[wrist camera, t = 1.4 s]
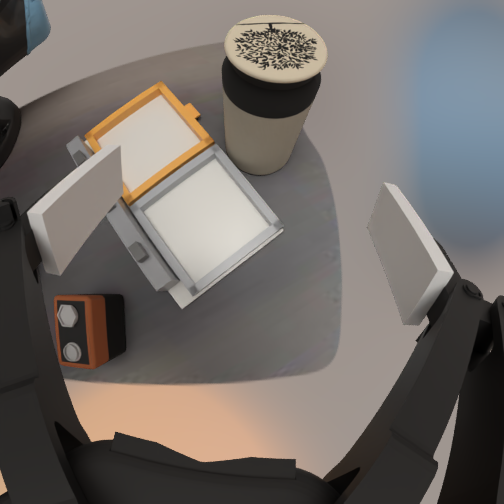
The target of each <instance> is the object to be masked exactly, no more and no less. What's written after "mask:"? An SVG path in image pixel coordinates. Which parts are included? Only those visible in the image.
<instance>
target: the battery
mask: <svg viewBox="0 0 504 504" xmlns="http://www.w3.org/2000/svg"><path fill="white" fill-rule="evenodd" d="M54 314H55V329H56V341H57V350H58V358H59V363H60V364H61V365H63V366H70V367H77V368H85V369H95V368H97V367H99V366H101V365H102V364H104V363H106V362H108V361H109V360H111V359H113V358H115V357H116V356H118V355H120V354H121V353H123V352H125V350H126V341H125V327H124V308H123V297H122V295H120V294H79V295H57V296H55V298H54Z"/></svg>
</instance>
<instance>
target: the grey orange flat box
mask: <svg viewBox="0 0 504 504" xmlns="http://www.w3.org/2000/svg"><path fill="white" fill-rule="evenodd" d="M199 116H200V114H199V113H198V111H197V110H196V109H195V108H194V107H193V106H192V105H191V104H190V103H189V104H187V105H186V106H183V105H182V103H181V102H180V101H179V100H178V99H177V98H176V97H175V96H174V94H173V93H172V92H171V91H170V90H169V89H168V88H167V87H166V86H165V84H164V83H163V82H162V81H160V82H159V83H157V84H155V85H154V86H152V87H151V88H149V89H148V90H146V91H144V92H143V93H141V94H140V95H138V96H137V97H135V98H134V99H132V100H131V101H130V102H128V103H127V104H125V105H124V106H122V107H121V108H120V109H118V110H117V111H116V112H114V113H113V114H111V115H110V116H109V117H107V118H106V119H105V120H103V121H102V122H101V123H100V124H98V125H97V126H96V127H94V128H93V129H92V130H91V131H89V132H88V133H87V134H86V135H84V136H85V137H86V139H87V140H86V141H85V142H84V141H83V140H82V139H81V138H80V137H79V136H76V137H75V138H74V139H73V140H72V141H71V142H69V143H68V144H67V145H66V146H67V148H68V150H69V152H70V154H71V156H72V158H73V160H74V161H75V163H76V165H77V167H79V166H80V165H81V164H83V163H84V162H85V161H86V160H88V159H89V158H90V157H92V156H93V155H94V154H96V153H97V152H98V151H100V150H101V149H102V148H104V147H105V146H106V145H120V146H121V165H122V180H123V192H124V193H123V195H122V196H121V197H120V198H119V199H118V200H117V202H116V203H115V204H114V205H113V207H112V208H111V209H110V210H109V211H108V213H107V214H106V217H107V218H108V220H109V221H110V223H111V225H112V226H113V228H114V229H115V231H116V233H117V234H118V236H119V237H120V239H121V240H122V242H123V243H124V245H125V246H126V248H127V249H128V251H129V252H130V254H131V255H132V257H133V258H134V260H135V261H136V263H137V264H138V266H139V267H140V269H141V270H142V272H143V273H144V274H145V276H146V277H147V279H148V280H149V281H150V283H151V284H152V286H153V287H154V289H155V290H156V291H169V293H170V294H171V295H172V297H173V298H174V299H175V301H176V302H177V303H178V305H179V306H180V307H181V309H184V308H185V307H186V306H187V305H189V304H190V303H191V302H193V301H194V300H195V299H196V298H198V297H199V296H200V295H202V294H203V293H204V292H206V291H207V290H208V289H209V288H211V287H212V286H213V285H215V284H216V283H217V282H218V281H220V280H221V279H222V278H224V277H225V276H226V275H228V274H229V273H230V272H231V271H233V270H234V269H235V268H237V267H238V266H239V265H240V264H242V263H243V262H244V261H246V260H247V259H248V258H250V257H251V256H252V255H253V254H255V253H256V252H257V251H259V250H260V249H261V248H262V247H264V246H265V245H266V244H268V243H269V242H270V241H271V240H273V239H274V238H275V237H277V236H278V235H279V234H281V233H282V232H283V231H284V230H283V229H282V228H283V226H284V225H283V224H282V223H281V221H280V220H279V219H278V218H277V216H276V215H275V214H274V213H273V211H272V210H271V209H270V208H269V206H268V205H267V204H266V203H265V201H264V200H263V199H262V198H261V197H260V195H259V194H258V193H257V192H256V190H255V189H254V188H253V187H252V185H251V184H250V183H249V182H248V181H247V179H246V178H245V177H244V176H243V175H242V173H241V172H240V171H239V170H238V169H237V167H236V166H235V165H234V164H233V163H232V161H231V160H230V159H229V158H228V157H227V155H226V154H225V153H224V152H223V151H222V150H221V148H220V147H219V146H218V145H217V144H214V140H213V139H212V138H211V137H210V136H209V134H208V133H207V132H206V131H205V130H204V129H203V127H202V126H201V125H200V124H199V123H198V122H197V121H196V118H198V117H199Z"/></svg>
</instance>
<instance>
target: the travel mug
mask: <svg viewBox="0 0 504 504" xmlns="http://www.w3.org/2000/svg"><path fill="white" fill-rule="evenodd" d="M224 48H225V53H226V55H227V56H226V58H225V59H224V62H223V65H222V84H223V105H224V125H225V143H226V151H227V155H228V157H229V159H230V160H231V161H232V163H233V164H234V165H235V166H236V167H237V168H239V169H240V170H242V171H244V172H247V173H250V174H254V175H266V174H270V173H273V172H275V171H277V170H279V169H280V168H282V167H283V166H284V165H285V164H286V162H287V161H288V159H289V157H290V155H291V153H292V150H293V148H294V146H295V143H296V141H297V139H298V136H299V134H300V131H301V129H302V127H303V124H304V122H305V120H306V117H307V115H308V112H309V110H310V108H311V105H312V103H313V101H314V99H315V96H316V94H317V91H318V89H319V86H320V83H321V74H320V71H321V70H322V69H323V68H324V66H325V64H326V62H327V56H328V53H327V48H326V45H325V43H324V41H323V39H322V38H321V37H320V35H319V34H318V33H317V32H316V31H314V30H313V29H312V28H311V27H309V26H308V25H306V24H304V23H302V22H300V21H298V20H295V19H292V18H289V17H284V16H278V15H261V16H255V17H251V18H248V19H245V20H243V21H241V22H239V23H237V24H236V25H235V26H233V27H232V28H231V30H230V31H229V32H228V34H227V36H226V38H225V42H224Z"/></svg>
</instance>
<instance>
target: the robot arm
mask: <svg viewBox="0 0 504 504" xmlns="http://www.w3.org/2000/svg"><path fill="white" fill-rule="evenodd" d="M50 28H51V27H50V23H49V20H48V17H47V14H46V12H45V9H44V6H43V3H42V0H0V76H1V75H3V74H4V73H5V72H6V71H7V70H9V69H10V68H11V67H12V66H13V65H15V64H16V63H17V62H18V61H19V60H21V59H22V58H23V57H25V56H26V55H29V54H30V52H31V51H32V50H33V49H34V48H35V47H37V46H38V45H39V44H41V43H42V42H43V41H44V40H45V39H46V38H47V37H48V35H49V33H50ZM20 122H21V115H20V111H19V108H18V107H17V106H16V105H15V104H14V103H13V102H12V101H11V100H9V99H8V98H5V97H1V96H0V167H1V166H2V165H3V163H4V162H5V160H6V159H7V157H8V155H9V154H10V152H11V150H12V148H13V146H14V144H15V141H16V139H17V136H18V132H19V128H20ZM123 193H124V192H123V180H122V165H121V146H120V145H106V146H105V147H104V148H102V149H101V150H100V151H98V152H97V153H96V154H94V155H93V156H92V157H90V158H89V159H88V160H86V161H85V162H84V163H83V164H81V165H80V166H79V167H78V168H76V169H75V170H74V171H73V172H71V173H70V174H69V175H68V176H67V177H65V178H64V179H63V180H62V181H61V182H60V183H58V184H57V185H56V186H55V187H54V188H52V189H50V190H48V191H47V192H46V193H44V194H43V195H42V196H41V197H40V198H39V199H38V200H37V201H36V202H35V203H33V204H32V205H31V206H30V207H29V208H28V209H27V210H26V211H25V212H24V213H23V214H22V215H21V216H20V214H19V210H18V207H17V203H16V200H15V198H13V197H7V198H3V199H0V470H1V473H2V476H3V479H4V482H5V485H6V488H7V492H5V493H4V494H2V495H0V504H420V502H421V500H422V499H423V497H424V495H425V493H426V492H427V490H428V488H429V486H430V484H431V482H432V480H433V478H434V476H435V474H436V472H437V469H438V462H437V461H435V460H434V459H433V455H434V453H435V450H436V448H437V446H438V444H439V442H440V440H441V438H442V435H443V433H444V430H445V428H446V426H447V424H448V421H449V419H450V416H451V414H452V411H453V409H454V406H455V403H456V400H457V398H458V395H459V402H458V410H457V417H456V424H455V430H454V436H453V441H452V447H451V452H450V457H449V461H448V465H447V470H446V474H445V478H444V482H443V485H442V489H441V492H440V496H439V499H438V502H437V504H504V296H498V297H497V299H496V300H495V301H494V303H493V304H492V303H489V302H487V301H485V300H483V295H482V293H481V291H480V290H479V289H478V287H477V286H476V285H474V284H473V283H472V282H470V281H468V280H465V279H461V277H460V275H459V273H458V272H457V270H456V269H455V267H454V265H453V263H452V262H451V261H450V259H449V257H448V255H446V252H445V250H444V249H443V247H442V246H441V245H440V244H439V243H438V242H437V241H436V240H435V239H434V238H433V237H432V236H431V234H430V233H429V231H428V230H427V228H426V227H425V225H424V224H423V222H422V221H421V219H420V218H419V216H418V215H417V213H416V212H415V211H414V209H413V208H412V206H411V205H410V203H409V202H408V201H407V199H406V198H405V197H404V195H403V194H402V192H401V191H400V190H399V188H398V187H397V186H396V185H393V184H389V183H384V182H383V184H382V187H381V190H380V193H379V196H378V199H377V202H376V204H375V207H374V210H373V213H372V215H371V218H370V221H369V223H368V226H367V229H368V231H369V234H370V236H371V239H372V241H373V243H374V246H375V248H376V251H377V253H378V256H379V258H380V261H381V263H382V266H383V269H384V271H385V274H386V276H387V279H388V282H389V284H390V287H391V290H392V293H393V296H394V298H395V301H396V304H397V307H398V310H399V313H400V316H401V319H402V322H403V324H404V325H420V323H421V322H422V320H423V319H424V318H425V316H426V315H427V317H428V319H429V324H428V325H427V327H426V328H425V329H424V331H423V332H422V333H421V334H420V336H419V337H418V339H417V340H416V341H417V342H418V343H417V345H416V347H415V349H414V351H413V353H412V355H411V357H410V358H409V360H408V362H407V364H406V366H405V367H404V369H403V371H402V373H401V374H400V376H399V378H398V380H397V381H396V383H395V385H394V386H393V388H392V390H391V391H390V393H389V395H388V396H387V398H386V399H385V401H384V402H383V404H382V406H381V407H380V409H379V410H378V412H377V413H376V415H375V416H374V417H373V419H372V420H371V422H370V423H369V425H368V426H367V428H366V429H365V431H364V432H363V433H362V435H361V436H360V437H359V439H358V440H357V441H356V443H355V444H354V445H353V447H352V448H351V450H350V451H349V452H348V453H347V454H346V456H345V457H344V458H343V459H342V460H341V461H340V463H338V465H336V466H335V467H334V468H333V469H332V470H331V471H330V472H329V473H328V474H327V475H326V476H325V477H324V478H323V479H321V478H319V477H318V476H316V475H314V474H312V473H310V472H307V471H305V470H302V469H299V468H296V459H272V458H256V457H249V458H242V459H233V460H225V461H215V462H200V461H197V460H195V459H192V458H190V457H187V456H185V455H183V454H181V453H178V452H176V451H174V450H172V449H169V448H167V447H165V446H163V445H161V444H159V443H157V442H152V441H148V440H144V439H140V438H136V437H133V436H129V435H125V434H122V433H118V432H115V435H114V439H113V440H100V441H95V442H91V441H90V439H89V437H88V435H87V434H86V432H85V430H84V429H83V427H82V426H81V424H80V422H79V420H78V418H77V415H76V413H75V410H74V408H73V405H72V402H71V399H70V397H69V394H68V391H67V388H66V385H65V382H64V379H63V375H62V372H61V369H60V366H59V362H58V359H57V355H56V351H55V348H54V344H53V340H52V336H51V332H50V327H49V323H48V318H47V314H46V309H45V304H44V298H43V293H42V287H41V280H40V274H39V271H38V269H37V266H38V265H39V264H40V262H41V261H42V263H43V266H44V268H45V271H46V273H50V274H54V275H59V276H61V274H62V273H63V271H64V270H65V269H66V267H67V266H68V264H69V263H70V261H71V260H72V259H73V257H74V256H75V254H76V253H77V252H78V250H79V249H80V248H81V246H82V245H83V244H84V242H85V241H86V239H87V238H88V237H89V236H90V234H91V233H92V232H93V230H94V229H95V228H96V226H97V225H98V224H99V223H100V221H101V220H102V219H103V218H104V216H105V215H106V214H107V213H108V211H109V210H110V209H111V208H112V207H113V205H114V204H115V203H116V202H117V200H118V199H119V198H120V197H121V196H122V195H123ZM491 349H492V350H491ZM490 351H491V352H490Z"/></svg>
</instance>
